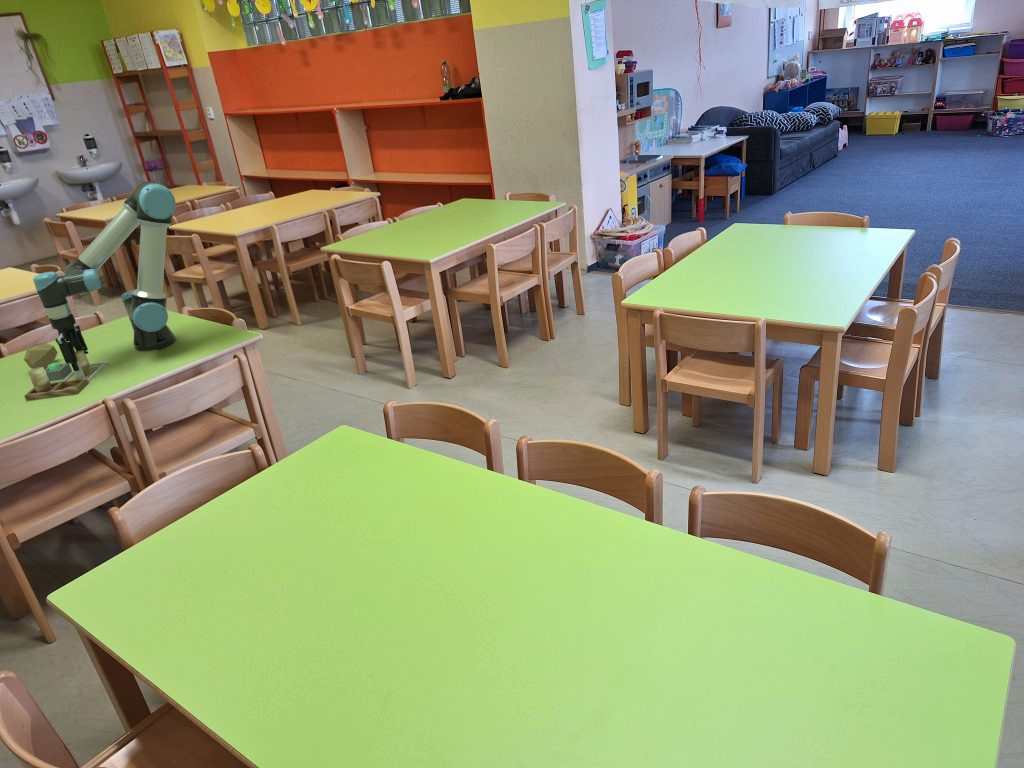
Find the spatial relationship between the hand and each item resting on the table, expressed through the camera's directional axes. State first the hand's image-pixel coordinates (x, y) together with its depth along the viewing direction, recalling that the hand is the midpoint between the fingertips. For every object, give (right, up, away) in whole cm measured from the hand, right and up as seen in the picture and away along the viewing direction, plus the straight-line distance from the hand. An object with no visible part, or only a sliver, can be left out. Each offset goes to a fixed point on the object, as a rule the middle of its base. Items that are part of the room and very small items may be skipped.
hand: (84, 374), depth 265 cm
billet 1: (-6, -7, -13) cm, 16 cm away
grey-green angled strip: (0, -1, 0) cm, 1 cm away
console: (-10, -2, +1) cm, 10 cm away
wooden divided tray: (-2, -7, -12) cm, 14 cm away
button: (-10, -1, +1) cm, 10 cm away
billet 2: (0, 0, 0) cm, 0 cm away
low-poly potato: (-22, +3, +13) cm, 26 cm away
